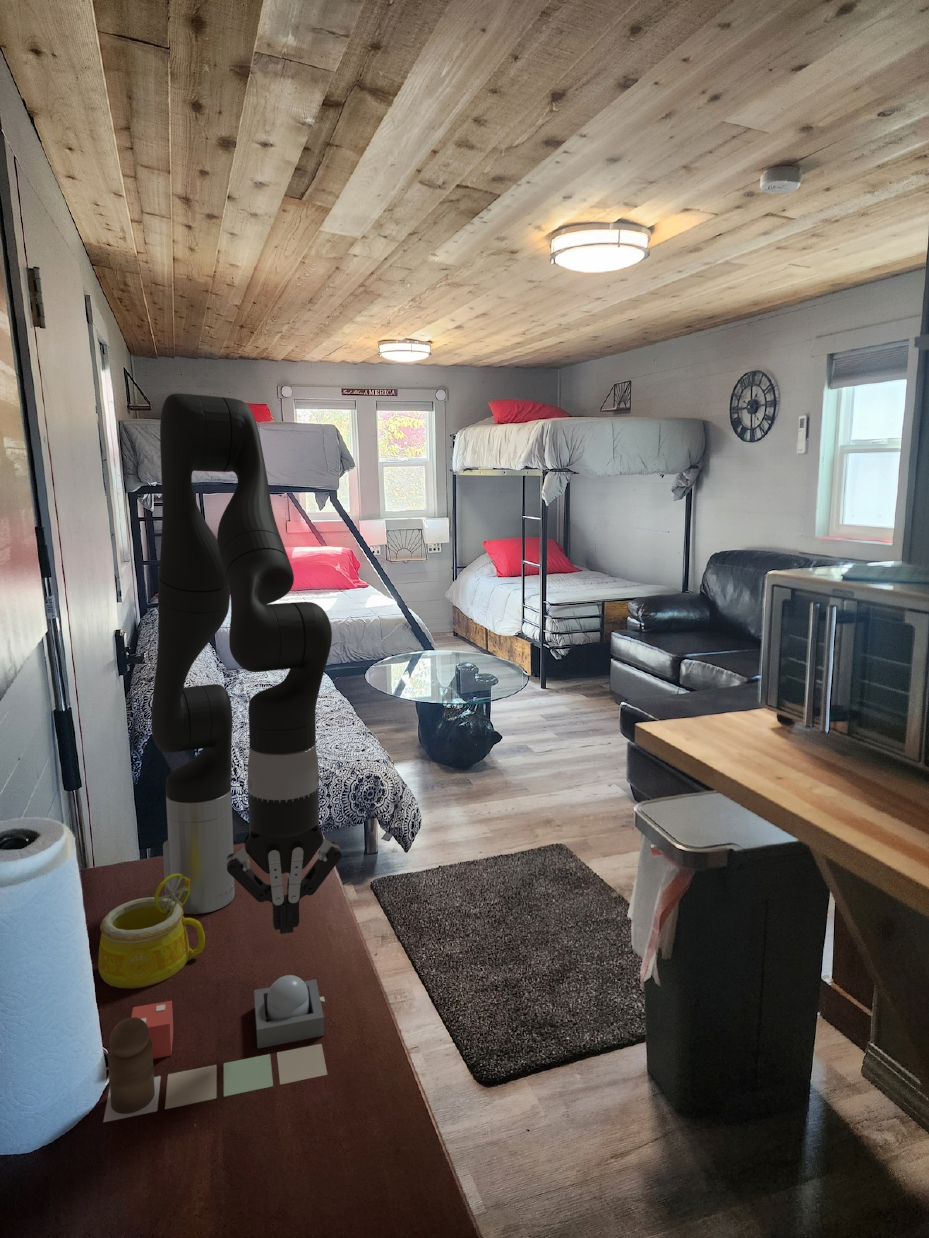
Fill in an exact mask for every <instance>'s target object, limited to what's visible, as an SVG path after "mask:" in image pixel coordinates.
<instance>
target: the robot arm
mask: <svg viewBox="0 0 929 1238" xmlns="http://www.w3.org/2000/svg"><path fill="white" fill-rule="evenodd" d="M159 428H160V429H159V441H160V447H159V448H160V468H161V469H160V472H161V473H160V474H161V475H160V476H161V501H162V503H161V505H162V506H161V507H162V511H161V513H162V515H161V517H162V518H161V521H162V522H161V535H160V536H161V540H160V541H161V542H160V554H159V568H158V569H159V570H158V589H157V590H158V592H157V618H158V619H157V620H158V621H157V625H158V626H157V627H158V628H157V629H158V632H157V633H158V634H157V637H158V639H157V656H156V657H157V658H156V668H155V674H154V675H155V676H154V684H153V693H152V700H151V701H152V702H151V713H150V714H151V715H150V720H151V721H150V724H151V725H150V726H151V735H152V739H153V742H154V744H155V746H156V747H157V749H158V750H159V751H161V752H162V753H180V752H185V751H186V752H187V751H188V752H189V751H193V750H200V749H201V750H200V752H198V754H197V755H196V756H194V758H192V759H191V760H190V761H188V762H186V763H185V764H183V765H180V766H179V767H177V768H176V769H174V770H173V771H171V772H170V773H169V774H168V776H167V777H166V779H165V796H166V797H165V799H166V801H165V802H166V818H167V820H166V821H167V837H168V838H167V840H165V841H164V843H163V844H162V853H163V855H162V856H163V873H164V874H163V875H164V879H166V878H167V877H168V876H170V875H172V874H181V875H183V876H185V877H187V879H190V893H189V896H188V898H187V900H186V902H185V903H184V905H183V906H182V909H183V914H187V915H188V914H189V915H198V914H199V915H200V914H207V913H211V912H214V911H217V910H219V909H223V908H224V907H226V906H227V905H229V904H230V903H231V902H232V901H233V899H234V898H235V894H236V893H235V880H236V882H237V883H239V885H240V886H242V888H244V889H245V890H246V892H247V893H249V894H250V895H251V897H253V898H254V900H256V901H257V902H258V903H265V902H270V904H272V905H271V906H272V907H271V908H272V923H273V924H272V925H273V928H274V930H275V931H277V930H279V934H280V935H285V934H292V933H294V928H297V927H299V924H300V901H301V899H302V898H303V897H305V896H313V895H314V894H315V893H316V891H318V890H319V888H320V887H321V885H323V883H324V881H325V880H326V878H327V877H328V876H329V874H330V873H331V871H333V870H334V868H335V866H336V865H337V864H338V862H339V861H340V860H341V858H342V855H343V854H342V851H341V849H340V846H339V843H338V842H336V841H329V840H327V839H326V838H324V837H325V836H324V835H323V834H324V833H323V830H322V829H321V828H320V820H319V819H320V817H319V815H320V814H319V813H320V811H319V809H320V807H319V801H320V800H319V796H320V795H319V783H320V772H319V758H318V753H317V752H318V751H317V740H316V739H317V738H316V737H317V734H316V733H317V732H316V712H317V711H316V709H317V702H318V698H319V694H320V689H321V685H322V680H323V677H324V673H325V669H326V667H327V662H328V660H329V657H330V653H331V648H332V647H331V646H332V639H333V638H332V637H333V631H332V625H331V621H330V619H329V616H328V614H327V613H326V611H325V610H324V609H323V608H322V606H320V605H319V604H317V603H315V602H313V601H312V602H310V601H296V602H281V603H274V602H277V601H278V600H281V599H283V598H284V597H286V596H287V595H288V594H289V592H290V591H291V589H292V588H293V586H294V581H295V577H294V576H295V574H294V570H293V568H292V564H291V562H290V558H289V556H288V552H287V550H286V548H285V545H284V542H283V540H282V537H281V533H280V532H279V529H278V525H277V521H276V518H275V515H274V510H273V504H272V499H271V493H270V487H269V482H268V474H267V470H266V469H267V468H266V463H265V457H264V452H263V447H262V446H263V445H262V443H261V442H262V441H261V436H260V432H259V427H258V423H257V421H256V418H255V415H254V413H253V411H252V409H251V407H250V406H249V404H247V403H246V402H245V401H243V400H240V399H236V398H234V397H233V398H231V397H225V396H212V395H205V394H204V395H201V394H193V393H192V394H190V393H171V394H170V395H168V396H167V397H166V398H165V400H164V402H163V404H162V408H161V413H160V426H159ZM194 471H195V472H210V473H212V472H214V473H216V472H217V473H230V472H233V473H234V474H235V476H236V478H237V484H236V488H235V489H234V493H233V494H232V496H231V498H230V499H229V502H228V503H227V505H226V507H225V509H224V512H222V515H221V517H220V521H219V523H218V528H217V535H215V534H214V532H213V531H212V530H211V527H209V525H208V523H207V521H206V520H205V518H204V516H203V514H202V512H201V510H200V508H199V506H198V503H197V501H196V498H195V495H194V489H193V483H192V482H193V481H192V476H193V472H194ZM229 609H230V622H229V623H230V624H229V625H230V626H229V633H228V634H229V635H228V636H229V642H228V643H229V644H228V645H229V651H230V654H231V657H232V658H233V659H234V661H235V662H236V664H238V665H239V666H240V667H241V668H242V669H243V670H245V671H248V672H251V673H260V672H261V673H262V672H263V673H265V672H271V671H280V670H288V669H289V671H288V672H287V674H286V676H285V678H284V680H282V681H281V682H280V683H278V684H276V685H273V686H271V687H268V688H266V689H262V690H260V691H259V692H257V693H255V694H254V695H253V696H252V697H251V698H250V700H249V704H248V728H249V729H248V734H249V735H248V736H249V737H248V739H249V740H248V742H249V747H248V748H249V752H248V758H247V759H248V760H247V781H246V785H247V798H248V799H247V802H248V806H247V807H248V833H247V835H246V837H245V839H244V841H243V842H244V846H243V847H242V848H241V849H240V850H238V851H237V852H236V853H234V835H233V834H234V833H233V831H234V830H233V806H232V804H233V803H232V802H233V801H232V771H233V770H232V767H233V766H232V764H233V763H232V760H233V759H232V750H233V749H232V745H233V744H232V743H233V741H232V740H233V709H232V708H233V707H232V701H231V698H230V695H229V693H228V691H227V689H226V688H225V687H224V686H223V685H221V684H216V683H214V684H212V683H211V684H203V685H193V686H186V687H185V682H186V681H187V678H188V674H189V672H190V670H191V668H192V666H193V664H195V662H196V660H197V658H198V657H199V655H201V653H202V652H203V650H204V649H206V647H207V645H208V644H209V643H210V642H211V640H212V639H213V637H215V636H216V634H217V633H218V631H219V630H220V628H221V627H222V626H223V624H224V622H225V620H226V618H227V616H228V614H229ZM316 854H317V857H318V858H317V859H316V860H315V862H314V863H313V865H312V866H311V867H310V868H309V870H308V871H307V873H306V874H305V875H304V877H303V878H302V873H303V870H304V869H305V868H306V867H307V866H308V865H309V863H310V862H311V860H312V859H313V858H314V857H315V855H316ZM249 858H251V859H252V860H253V862H254V863H256V865H257V866H258V867H259V868H260V869H261V870H262V871H263V873H265V874H268V875H269V880H270V884H268V883H266V882H265V881H264V880H262V878H260V877H259V876H258V874H257V873H255V872H254V870H253V869H251V861H250V859H249ZM283 874H287V875H286V878H287V879H286V894H284V893H285V892H284V886H283V885H284V884H283ZM176 880H177V877H174V878H171V879H170V880H169V881H168V884H169V886H170V888H171V890H172V892H174V893H176V894H175V896H176V897H177V898H178V896H179V894H180V893H177V892H175V889H176V886H177V884H176V886H175V888H174V885H175V883H176ZM178 881H179V880H178ZM184 881H185V880H184V879H183V878H182V879H181V881H180V883H179V885H178V887H177V889H176V891H177V890H179V889H181V888H183V886H184ZM177 883H178V882H177ZM173 888H174V890H173ZM178 892H179V891H178ZM170 893H171V892H170V891H169V890H168V888H167V887H166V886H165V885H164V895H167V894H169V895H171V894H170ZM185 894H186V891H184V892H183V894H182V895H181V897H180V899H179V901H180V902H181V901H182V900H183V898H184V896H185ZM167 896H168V895H167ZM172 896H173V895H171V896H169V897H170V899H171V898H172V900H173V901H175V899H174V897H172ZM169 897H167V898H168V899H169Z"/></svg>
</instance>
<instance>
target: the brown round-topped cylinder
mask: <svg viewBox="0 0 929 1238" xmlns="http://www.w3.org/2000/svg"><path fill="white" fill-rule="evenodd" d="M108 1042H109V1048H108V1051H107V1063H108V1079H109V1089H110V1096H111V1107H112V1109H113V1110H114V1111H115V1112H117V1113H120V1114H129V1113H134V1112H137V1111H139V1110H141V1109H143V1108H144V1107H146V1106H147V1105H148V1104H149V1103H150V1102H151V1101H152V1099H153V1098H154V1095H155V1087H154V1077H155V1075H154V1074H155V1070H154V1059H153V1051H152V1040H151V1038H150V1037H149V1029H148V1026H147V1024H146V1023H145V1022H144V1021H143V1020H142V1019H140V1018H136V1017H132V1016H131V1017H127V1018H124V1019H122V1020H121V1021H118V1023H116V1025H115V1026H114V1028H113V1029H112V1030H111V1033H110V1035H109V1040H108Z"/></svg>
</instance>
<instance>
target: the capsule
mask: <svg viewBox="0 0 929 1238" xmlns="http://www.w3.org/2000/svg"><path fill="white" fill-rule="evenodd" d="M304 981H305V980H303V979H302V978H300V977H298V976H296V975H292V974H287V975H284V976H281V977H279V978H277V979H276V980H275V981H274V982H273V983H272V985H271V986H270V989H269V992H268V996H267V1010H268V1011H267V1022H269V1021H275V1020H280V1019H285V1018H291V1017H296V1016H302V1015H307V1014H310V1006H309V996H308V989H307V986H306V984H305V983H304Z"/></svg>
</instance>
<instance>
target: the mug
mask: <svg viewBox="0 0 929 1238" xmlns="http://www.w3.org/2000/svg"><path fill="white" fill-rule="evenodd" d="M174 877H177V880H176V883H175V885H174V888H175V886H176V884H177V886H176V889H177V887H178V885H179V883H180V881H181V879H182V878H183V879H184V880H185V881H184V886H183V888H181V889H179V890H177V891H176V889H175V892H177V893H180V894H179V896H178V898H177V897H176V896H175V894H176V893H174V892H172V890H171V888H170V886H169V884H168V881H169V880H170V879H171V878H174ZM178 880H179V881H178ZM177 882H178V883H177ZM165 886H166V887H167V888H168V890H169V891H170V892H171V893H170V894H171V895H173V896H172V897H174V899H175V901H173V900H172V898H171V899H170V897H169V896H171V895H169V894H167V895H168V896H167V895H165V894H163V895H160V892H161V890H162V888H163V887H165ZM174 888H173V890H174ZM178 891H179V892H178ZM184 891H186V894H185V896H184V898H183V900H182V901H181V902H180V901H179V899H180V897H181V895H182V894H183V892H184ZM189 893H190V879H187V877H185V876H183V875H181V874H172V875H170V876H168V877H167V878H166V879H165V878H164V879H163V880H162V881H161V882H160V883H159V885H158V886H157V887H156V890H155V893H154V896H153V897H151V896H150V897H143V898H142V897H141V898H137V899H133V900H130V901H127V902H125V903H122V904H120V905H118V906H117V907H115V908H114V909H112V910H110V911H109V912H108V913H107V915H105V917H104V918H103V919H102V921H101V922H100V932H101V935H100V939H99V940H100V942H99V948H98V958H97V959H98V960H97V962H98V972H99V975H100V978H101V979H102V981H104V983H106V984H108V985H109V986H111V987H115V988H119V989H138V988H145V987H149V986H152V985H156V984H159V983H161V982H164V981H165V980H168V979H169V978H172V977H173V976H174V975H176V974H177V973H179V971H180V970H182V969H183V968H184V967H185V966H186V964H187V963H188V961H192V958H193V957H196V956H197V955H199V954H201V953H202V952H203V950H204V948H205V942H206V941H205V940H206V936H205V935H206V934H205V932H204V929H203V925H202V923H201V922H200V921H199V920H197V919H195V918H192V917H185V916H184V913H183V909H182V906H183V905H184V903H185V902H186V900H187V898H188V896H189ZM167 897H169V899H168V898H167ZM187 925H190V926H193V927H194V928H196V932H197V936H198V943H197V947H196V948H195V949H192V948H191V947H190V944H189V943H190V942H189V937H188V933H187V932H188V931H187V928H186V926H187Z"/></svg>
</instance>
